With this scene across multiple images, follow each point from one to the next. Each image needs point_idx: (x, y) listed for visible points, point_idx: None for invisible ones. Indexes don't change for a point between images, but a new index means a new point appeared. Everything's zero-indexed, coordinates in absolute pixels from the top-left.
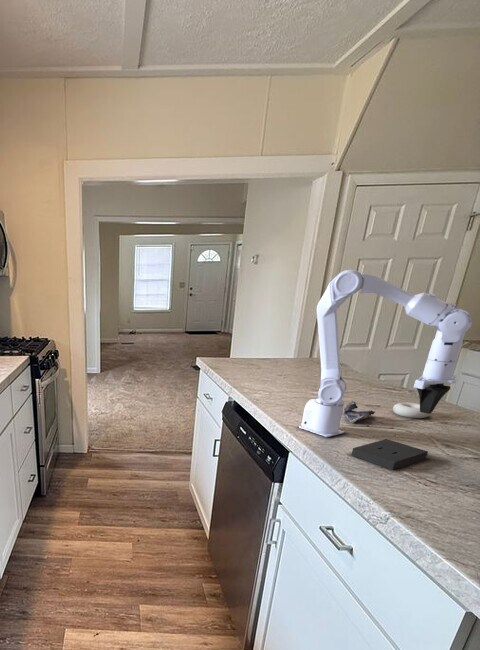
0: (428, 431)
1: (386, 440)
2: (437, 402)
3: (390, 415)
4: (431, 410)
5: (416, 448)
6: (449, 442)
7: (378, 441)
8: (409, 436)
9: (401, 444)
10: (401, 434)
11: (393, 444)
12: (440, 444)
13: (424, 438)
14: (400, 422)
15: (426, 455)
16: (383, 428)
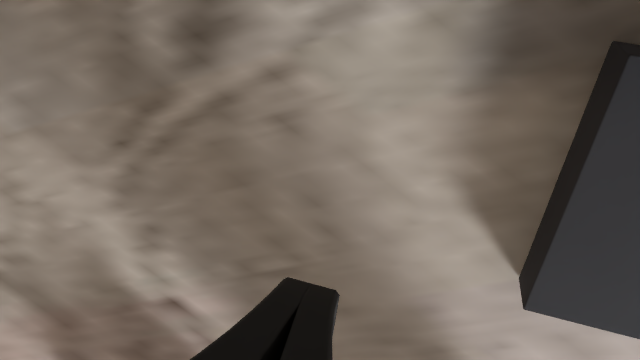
0: (56, 173)
1: (563, 302)
2: (230, 351)
3: (4, 338)
4: (314, 304)
5: (611, 133)
6: (129, 43)
7: (627, 331)
8: (223, 219)
9: (585, 223)
10: (226, 254)
11: (628, 258)
12: (212, 67)
13: (185, 158)
14: (53, 292)
15: (625, 48)
16: (210, 329)
